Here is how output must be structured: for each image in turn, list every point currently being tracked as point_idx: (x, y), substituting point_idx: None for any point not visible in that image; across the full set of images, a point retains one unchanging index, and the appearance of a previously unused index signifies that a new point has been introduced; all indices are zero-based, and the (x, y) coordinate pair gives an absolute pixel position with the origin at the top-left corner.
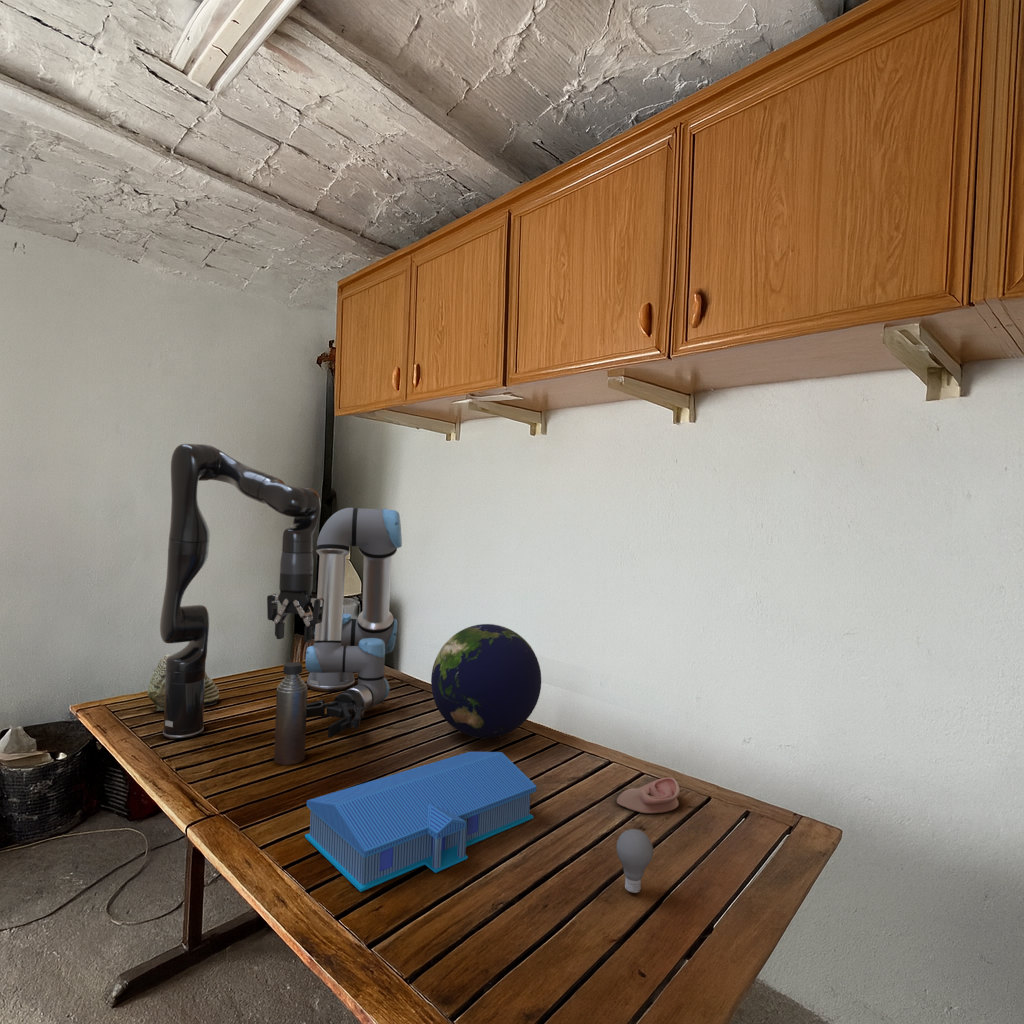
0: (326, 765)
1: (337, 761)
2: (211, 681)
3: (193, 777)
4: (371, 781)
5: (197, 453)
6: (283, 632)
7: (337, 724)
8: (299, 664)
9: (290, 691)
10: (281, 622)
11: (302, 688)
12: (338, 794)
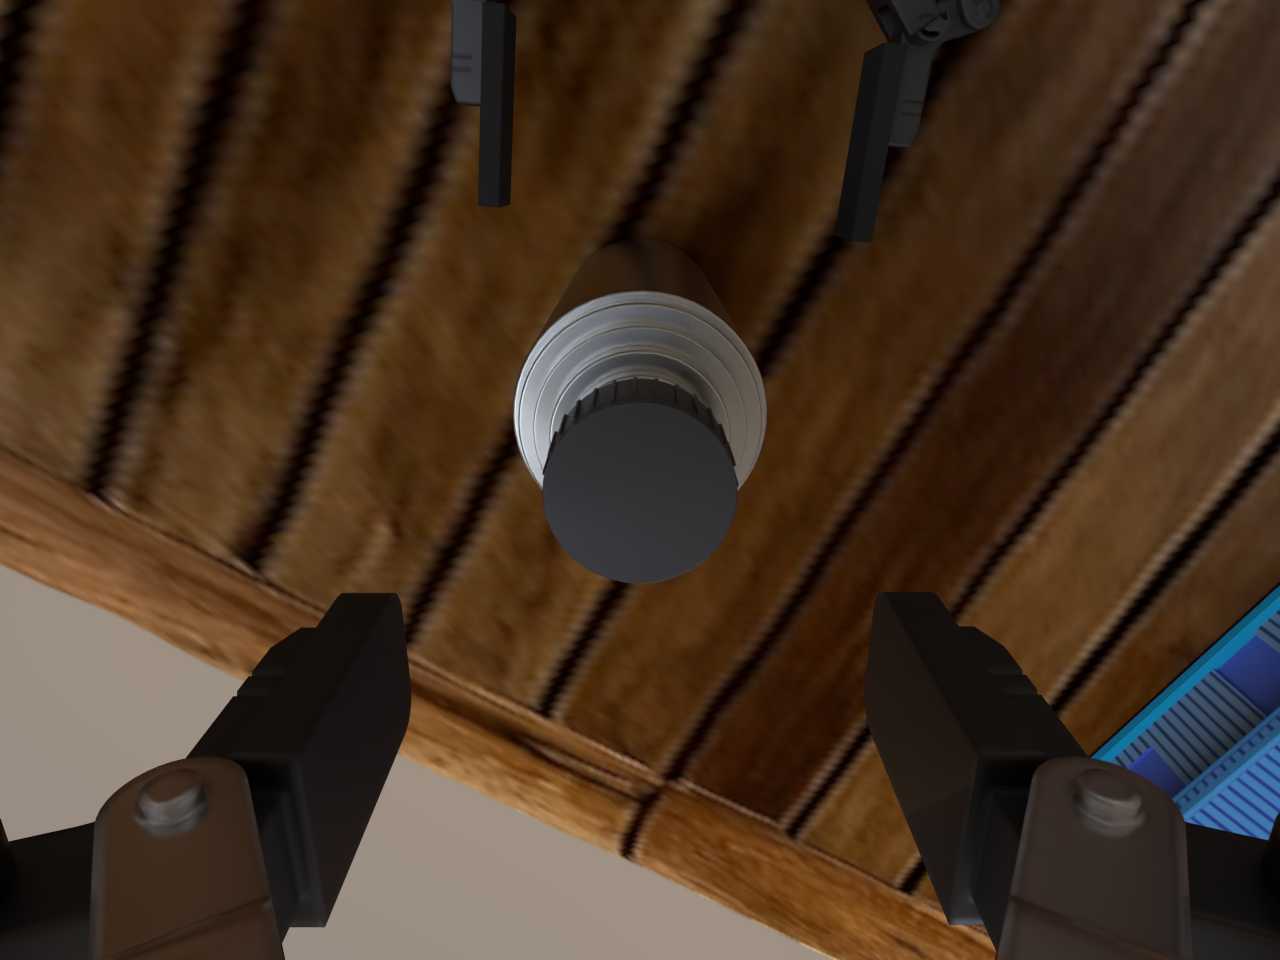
0: (852, 324)
1: (887, 262)
2: None
3: None
4: (1274, 747)
5: None
6: (370, 653)
7: (882, 159)
8: (710, 479)
9: None
10: (282, 855)
11: (756, 451)
12: None
